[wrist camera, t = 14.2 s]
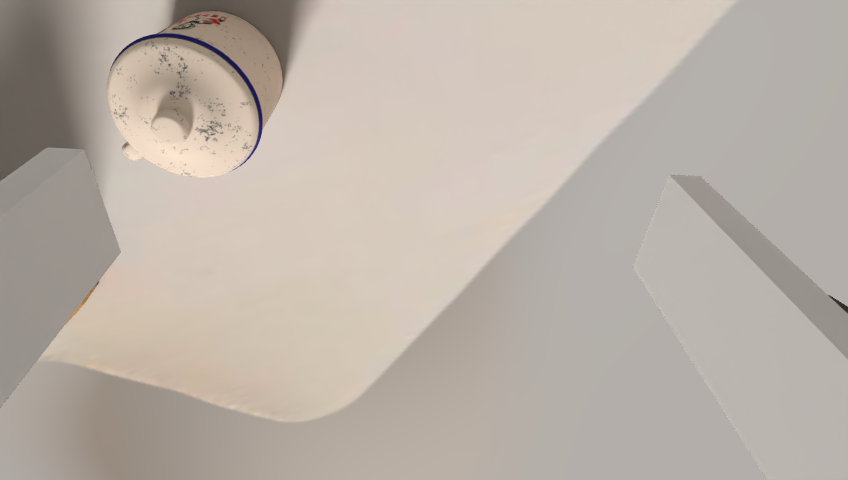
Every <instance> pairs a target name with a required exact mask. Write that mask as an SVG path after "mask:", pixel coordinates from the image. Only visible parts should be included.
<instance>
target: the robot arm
mask: <svg viewBox="0 0 848 480" xmlns="http://www.w3.org/2000/svg"><path fill="white" fill-rule="evenodd" d="M120 252H121V251H120V248H119V245H118V243H117V240H116V237H115V234H114V231H113V228H112V226H111V223H110V220H109V217H108V214H107V212H106V209H105V206H104V203H103V200H102V197H101V195H100V192H99V189H98V186H97V183H96V181H95V178H94V175H93V172H92V169H91V166H90V164H89V161H88V158H87V155H86V152H85V149H70V148H45V149H44V150H43V151H41V152H40V153H38V154H37V155H36V156H34V157H33V158H32V159H30V160H29V161H27V162H26V163H25V164H23V165H22V166H20V167H19V168H18V169H16V170H15V171H14V172H12V173H11V174H9V175H8V176H7V177H5V178H4V179H2V180H1V181H0V408H1V407H2V405H3V403H5V401H6V400H7V399H8V397H9V396H10V395H11V394H12V392H13V391H14V390H15V388H16V387H17V386H18V385H19V383H20V382H21V381H22V379H23V378H24V377H25V375H26V374H27V373H28V372H29V370H30V369H31V368H32V366H33V365H34V364H35V363H36V361H37V360H38V359H39V357H40V356H41V355H42V353H43V352H44V351H45V350H46V348H47V347H48V346H49V344H50V343H51V342H52V341H53V339H54V338H55V337H56V335H57V334H58V333H59V331H60V330H61V329H62V328H63V326H64V325H65V324H66V322H67V321H68V320H69V318H70V317H71V316H72V315H73V313H74V312H75V311H76V309H77V308H78V307H79V306H80V304H81V303H82V302H83V300H84V299H85V298H86V296H87V295H88V294H89V293H90V291H91V290H92V289H93V287H94V286H95V285H96V284H97V282H98V281H99V280H100V278H101V277H102V276H103V274H104V273H105V272H106V271H107V269H108V268H109V267H110V265H111V264H112V263H113V262H114V260H115V259H116V258H117V256H118V255H119V254H120ZM633 268H634V270H635V272H636V273H637V275H638V276H639V278H640V280H641V281H642V283H643V284H644V286H645V287H646V289H647V291H648V292H649V294H650V295H651V297H652V299H653V300H654V302H655V303H656V305H657V306H658V308H659V309H660V311H661V313H662V314H663V316H664V318H665V319H666V321H667V322H668V324H669V325H670V327H671V328H672V330H673V332H674V333H675V335H676V336H677V338H678V340H679V341H680V343H681V345H682V346H683V348H684V349H685V351H686V352H687V354H688V356H689V357H690V359H691V360H692V362H693V363H694V365H695V367H696V368H697V370H698V371H699V373H700V375H701V376H702V378H703V379H704V381H705V383H706V384H707V385H708V387H709V389H710V390H711V392H712V394H713V395H714V396H715V398H716V400H717V402H718V403H719V405H720V406H721V408H722V410H723V411H724V413H725V414H726V416H727V417H728V419H729V421H730V422H731V424H732V425H733V427H734V429H735V430H736V431H737V433H738V435H739V436H740V438H741V439H742V441H743V443H744V444H745V446H746V447H747V449H748V451H749V452H750V454H751V455H752V457H753V459H754V460H755V462H756V463H757V465H758V467H759V468H760V470H761V471H762V473H763V474H764V476H765V478H766V479H767V480H848V307H847V306H845V305H844V304H842V303H841V302H839V301H838V300H836V299H834V298H833V297H831V296H829V295H827V294H826V293H825V292H824V291H823V290H822V289H821V288H819V287H818V286H817V285H816V284H815V283H814V282H813V281H812V280H811V279H810V278H809V277H808V276H807V275H805V273H804V272H802V271H801V270H800V269H799V268H798V267H797V266H796V265H795V264H794V263H793V262H792V261H790V260H789V259H788V258H787V257H786V256H785V255H784V254H783V253H782V252H781V251H780V250H779V249H778V248H777V247H776V246H774V245H773V244H772V243H771V242H770V241H769V240H768V239H767V238H766V237H765V236H764V235H763V234H762V233H761V232H760V231H758V230H757V229H756V228H755V227H754V226H753V225H752V224H751V223H750V222H749V221H748V220H747V219H746V218H744V217H743V216H742V215H741V214H740V213H739V212H738V211H737V210H736V209H735V208H733V206H732V205H731V204H729V203H728V202H727V201H726V200H725V199H724V198H723V197H722V196H721V195H720V194H719V193H718V192H717V191H716V190H714V189H713V188H712V187H711V186H710V185H709V184H708V183H707V182H706V181H705V180H704V179H703V178H702V177H700V176H683V175H669V177H668V179H667V182H666V184H665V187H664V189H663V192H662V194H661V197H660V199H659V202H658V204H657V207H656V209H655V212H654V214H653V217H652V219H651V222H650V224H649V227H648V229H647V232H646V234H645V237H644V239H643V242H642V245H641V247H640V250H639V252H638V254H637V257H636V259H635V262H634V264H633Z"/></svg>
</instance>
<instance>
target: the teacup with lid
mask: <svg viewBox="0 0 848 480" xmlns="http://www.w3.org/2000/svg"><path fill="white" fill-rule="evenodd" d="M282 84H283V77H282V70H281V66H280V62H279V59H278V57H277V55H276V53H275V51H274V49H273V47H272V46H271V44H270V43H269V41H268V40H267V39H266V38H265V37H264V35H263V34H262V33H261V32H260V31H259V30H257V29H256V28H255V27H254V26H253V25H251V24H250V23H248V22H247V21H245V20H243V19H241V18H239V17H237V16H235V15H232V14H229V13H225V12H219V11H203V12H197V13H194V14H191V15H189V16H187V17H185V18H183V19H182V20H180V21H178V22H176V23H175V24H173V25H171V26H170V27H168V28H166V29H164V30H163V31H161V32H159V33H158V34H153V35H149V36H145V37H142V38H140V39H137V40H136V41H134V42H132V43H130V44H129V45H128V46H126V47H125V48H124V49H123V50H122V51H121V52H120V53H119V55H118V56H117V57H116V59H115V61H114V62H113V64H112V67H111V69H110V73H109V77H108V83H107V98H108V104H109V108H110V111H111V114H112V117H113V119H114V122H115V124H116V125H117V127H118V129H119V131H120V132H121V134H122V135H123V137H124V138H125V139H126V140H127V142H126V143H125V144H124V145H123V147H122V152H123V153H124V154H125V155H126V156H127V157H128V158H129V159H131V160H138V159H140V158H142V157H145V158H146V159H147V160H149V161H150V162H152V163H153V164H155V165H157V166H159V167H161V168H163V169H165V170H168V171H170V172H173V173H176V174H180V175H184V176H190V177H212V176H218V175H222V174H225V173H227V172H230V171H232V170H234V169H236V168H238V167H239V166H241V165H242V164H244V163H245V162H246V161H247V160H248V159H249V158H250V157H251V155H252V154H253V153H254V151H255V150H256V148H257V146H258V144H259V141H260V138H261V134H262V129H263V128H264V126H265V124H266V123H267V121H268V119H269V117H270V116H271V114H272V112H273V110H274V109H275V107H276V105H277V103H278V101H279V99H280V96H281V92H282Z"/></svg>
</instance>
